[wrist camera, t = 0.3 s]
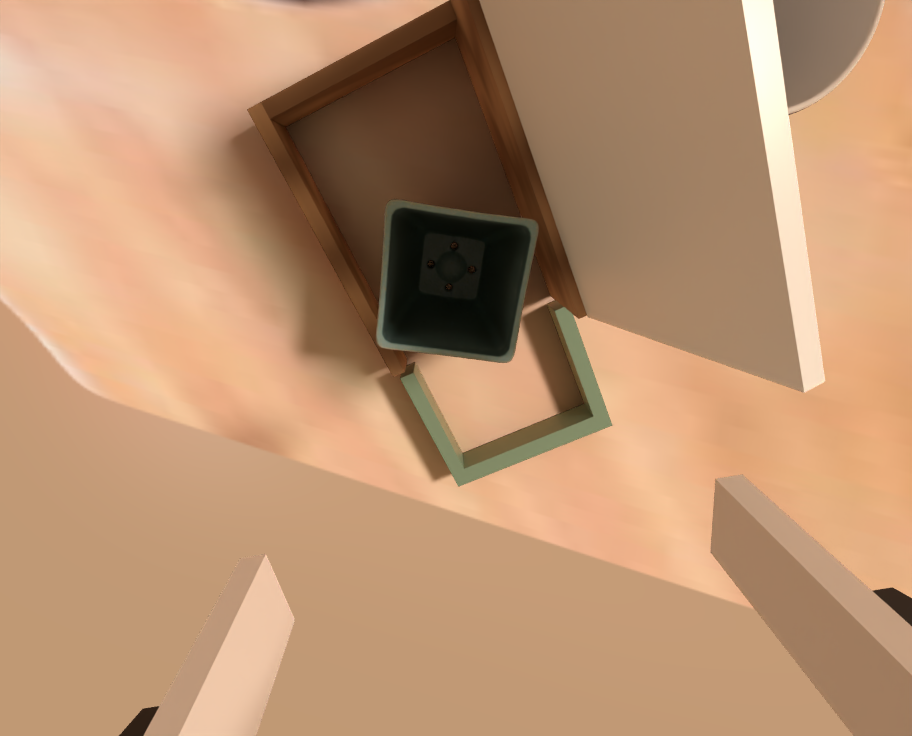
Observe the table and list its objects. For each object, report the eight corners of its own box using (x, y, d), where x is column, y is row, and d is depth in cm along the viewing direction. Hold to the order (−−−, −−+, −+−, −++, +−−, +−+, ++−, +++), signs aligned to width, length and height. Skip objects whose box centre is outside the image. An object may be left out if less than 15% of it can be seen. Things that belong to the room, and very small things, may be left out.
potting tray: (402, 367, 37) (400, 378, 34) (560, 298, 35) (569, 304, 33) (457, 470, 40) (458, 486, 38) (601, 412, 39) (612, 425, 37)
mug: (661, 172, 32) (756, 158, 22) (589, 67, 29) (662, 2, 20) (807, 39, 29) (984, -39, 20) (742, -88, 27) (909, -248, 17)
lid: (645, -605, 7) (688, -623, 7) (462, -50, 21) (476, -57, 21) (804, 392, 14) (825, 381, 14) (587, 316, 28) (598, 311, 28)
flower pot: (389, 314, 35) (374, 348, 27) (399, 199, 32) (385, 197, 23) (495, 327, 36) (512, 364, 27) (514, 216, 33) (541, 220, 24)
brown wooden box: (265, 118, 30) (211, 91, 23) (462, 12, 28) (471, -52, 21) (396, 364, 36) (386, 401, 29) (562, 290, 35) (593, 312, 28)
